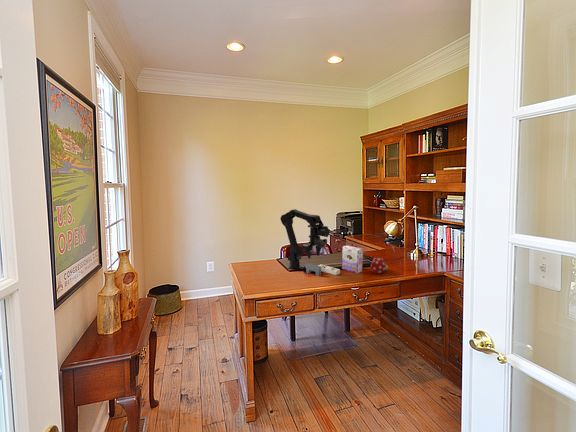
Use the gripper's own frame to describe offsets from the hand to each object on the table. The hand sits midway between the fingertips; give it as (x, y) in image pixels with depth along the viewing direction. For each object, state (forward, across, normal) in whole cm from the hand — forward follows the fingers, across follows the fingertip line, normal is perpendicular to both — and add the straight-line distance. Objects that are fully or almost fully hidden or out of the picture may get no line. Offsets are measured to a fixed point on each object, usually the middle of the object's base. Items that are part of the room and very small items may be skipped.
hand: (313, 257), depth 215 cm
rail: (+12, +10, -5) cm, 16 cm away
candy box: (+12, +24, -15) cm, 31 cm away
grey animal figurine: (+12, 0, 0) cm, 12 cm away
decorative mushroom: (+12, +35, -32) cm, 48 cm away
